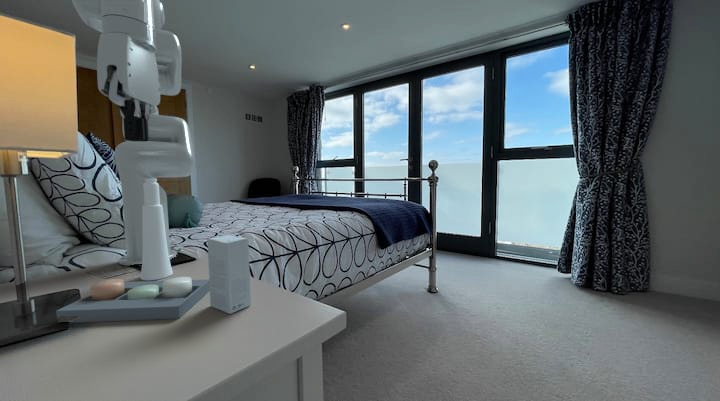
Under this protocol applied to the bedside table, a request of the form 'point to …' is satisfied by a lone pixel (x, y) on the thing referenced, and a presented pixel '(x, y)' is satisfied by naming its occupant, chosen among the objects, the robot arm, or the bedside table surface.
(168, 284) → the ivory button
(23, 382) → the bedside table surface
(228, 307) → the skincare box
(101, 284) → the terracotta button
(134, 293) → the sage button
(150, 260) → the cosmetic bottle
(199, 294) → the button board
